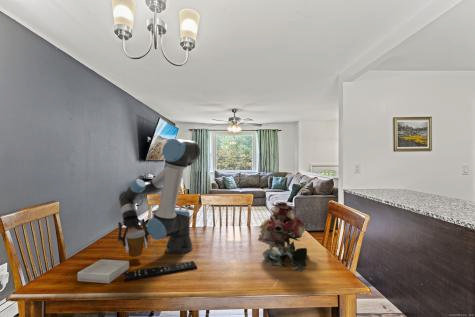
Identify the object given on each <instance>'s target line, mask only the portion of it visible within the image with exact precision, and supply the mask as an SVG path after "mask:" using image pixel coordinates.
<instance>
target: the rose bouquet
mask: <svg viewBox="0 0 475 317" xmlns="http://www.w3.org/2000/svg"><path fill="white" fill-rule="evenodd" d="M293 210H295V207H293V206H290V205H289V204H288V202H284V201H281V202H280V201H279V202H275V203H274V204H273V207H271V208H270V211H271V213H272V214H271V215H269V218H267V219H265V220H263V221H262V222H261V224H260V225H259V229H260V231H259V233H260V234H259V235H258V238H257V240H258V241H259V242H261V243H264V244H266V245H269V247H268V248H267V249H266V250H265V251H263V252H262V255H263V256H264V260H262V262H267V265H268V266H269V267H272V266H280V267H284V268H287V267H288V265H286V264H284V262H285V260H286V259H288V260H290V261H291V264H292V265H294V266H295V267H291V268H290V269H291V270H295V271H298V272H303V271H305V270H306V268H307V265H308V264H307V259H308V248H306V247H300V248H299V247H298V248H296V246H295V241H297V242H298V241H299V242H300V241H301V240H299V239H301V238H302V236H303V234H304V233H305V232H307V231H308V230H306V228H305V226H306V225H305V223H304V222H303V221H302V220H300V218H299V217H298V216H296V213H295V212H293ZM304 237H305V236H303V238H304ZM291 240H294V241H292V242H291ZM290 242H291V243H290ZM276 248H277V249H276Z"/></svg>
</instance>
